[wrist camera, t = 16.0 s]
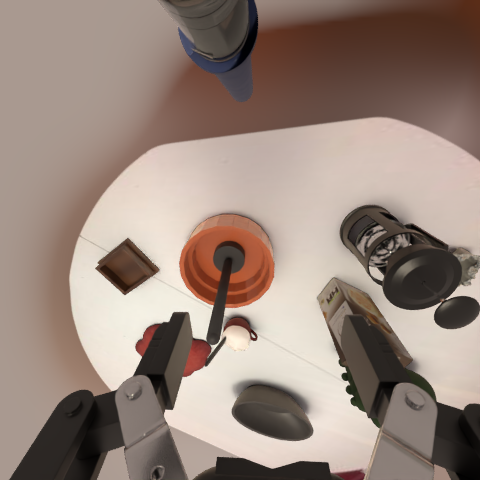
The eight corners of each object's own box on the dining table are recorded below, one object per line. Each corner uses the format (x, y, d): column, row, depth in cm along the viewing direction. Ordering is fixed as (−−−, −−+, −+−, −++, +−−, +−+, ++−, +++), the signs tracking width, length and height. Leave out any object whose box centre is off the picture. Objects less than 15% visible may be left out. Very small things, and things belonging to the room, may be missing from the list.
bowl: (246, 369, 63) (245, 392, 57) (318, 399, 66) (324, 424, 60) (225, 395, 68) (222, 419, 62) (293, 422, 71) (297, 447, 65)
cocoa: (261, 324, 57) (262, 372, 46) (244, 340, 59) (242, 389, 48) (227, 303, 55) (220, 347, 44) (211, 320, 57) (201, 366, 46)
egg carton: (401, 279, 50) (413, 291, 46) (412, 245, 47) (426, 256, 43) (457, 281, 49) (474, 293, 45) (472, 247, 46) (491, 257, 42)
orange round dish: (171, 244, 49) (160, 260, 43) (237, 195, 44) (234, 206, 38) (223, 299, 54) (219, 321, 48) (288, 261, 49) (292, 279, 43)
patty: (217, 346, 60) (216, 353, 58) (193, 378, 65) (191, 385, 64) (151, 315, 57) (147, 322, 55) (131, 352, 63) (128, 358, 61)
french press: (338, 257, 48) (402, 356, 27) (333, 212, 45) (402, 287, 24) (403, 244, 46) (524, 340, 26) (402, 196, 43) (543, 263, 22)
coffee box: (315, 299, 53) (338, 364, 38) (333, 276, 50) (365, 337, 36) (351, 315, 54) (387, 385, 39) (370, 294, 51) (416, 360, 37)
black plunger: (208, 251, 49) (176, 337, 29) (232, 234, 47) (215, 314, 27) (227, 272, 51) (209, 367, 31) (251, 257, 49) (248, 348, 29)
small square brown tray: (99, 260, 52) (91, 267, 49) (127, 238, 49) (120, 244, 47) (131, 290, 55) (125, 298, 52) (159, 269, 52) (154, 277, 49)
